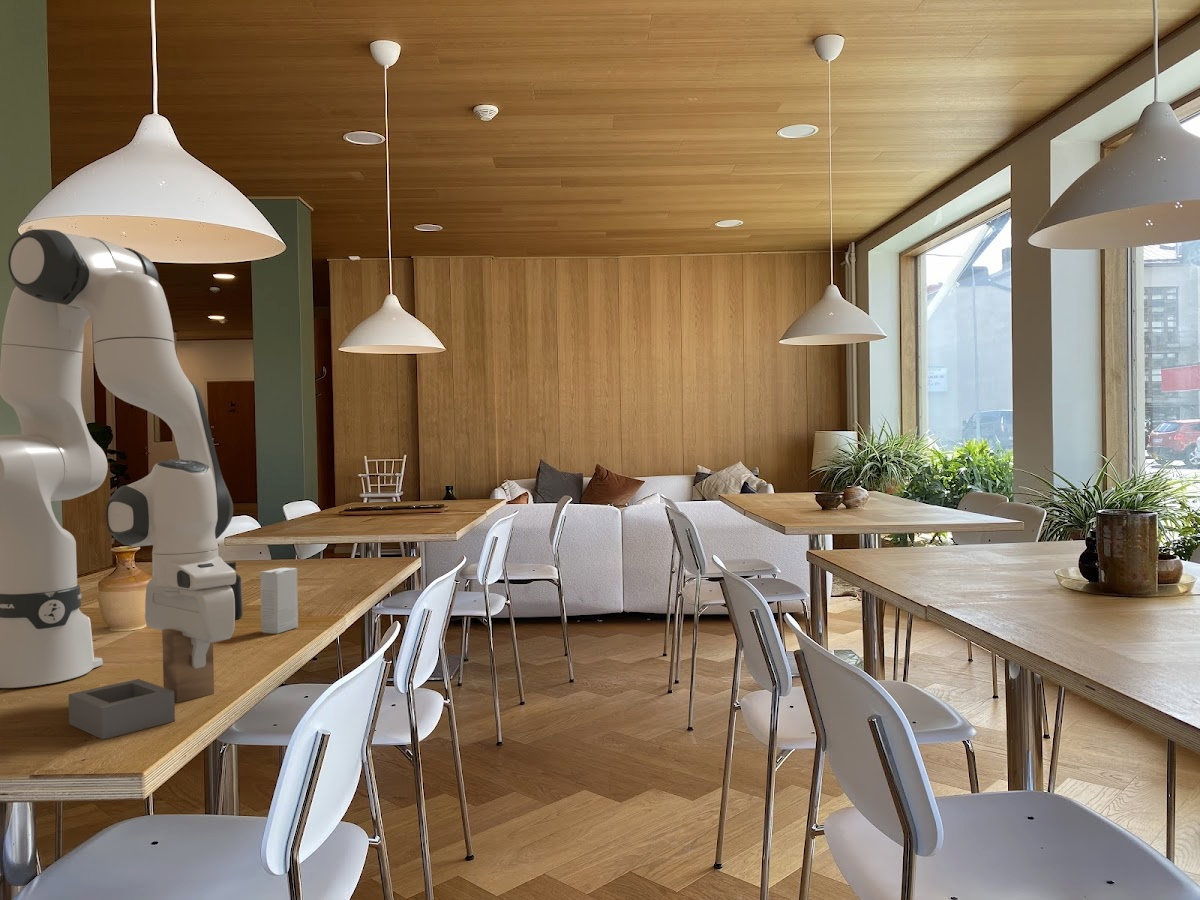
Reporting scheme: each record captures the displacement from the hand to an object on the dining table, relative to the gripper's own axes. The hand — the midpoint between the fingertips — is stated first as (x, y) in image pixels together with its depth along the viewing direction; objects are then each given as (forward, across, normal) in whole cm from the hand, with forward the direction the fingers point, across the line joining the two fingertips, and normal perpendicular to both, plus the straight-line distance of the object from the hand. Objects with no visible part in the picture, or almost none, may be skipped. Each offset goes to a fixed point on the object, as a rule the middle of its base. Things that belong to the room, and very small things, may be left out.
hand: (188, 664), depth 129 cm
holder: (+5, +5, -12) cm, 13 cm away
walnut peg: (+5, 0, 0) cm, 5 cm away
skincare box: (+5, -30, +33) cm, 45 cm away
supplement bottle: (+5, -51, +33) cm, 61 cm away
